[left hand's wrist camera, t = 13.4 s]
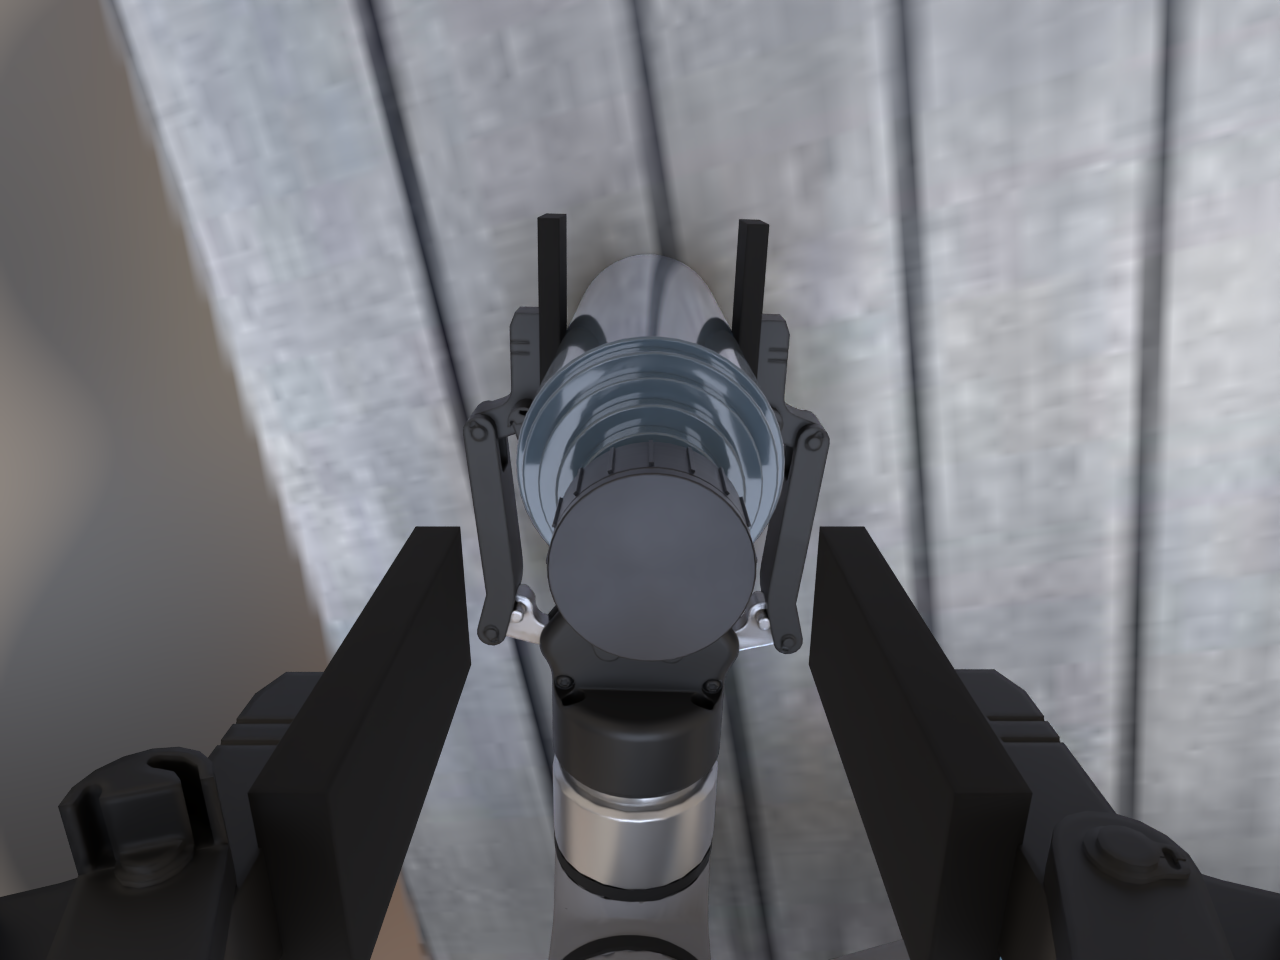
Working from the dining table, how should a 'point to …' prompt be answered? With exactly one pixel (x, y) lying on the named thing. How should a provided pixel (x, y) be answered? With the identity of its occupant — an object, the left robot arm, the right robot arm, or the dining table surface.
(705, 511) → the cap
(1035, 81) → the dining table surface
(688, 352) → the bottle
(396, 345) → the dining table surface
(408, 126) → the dining table surface
